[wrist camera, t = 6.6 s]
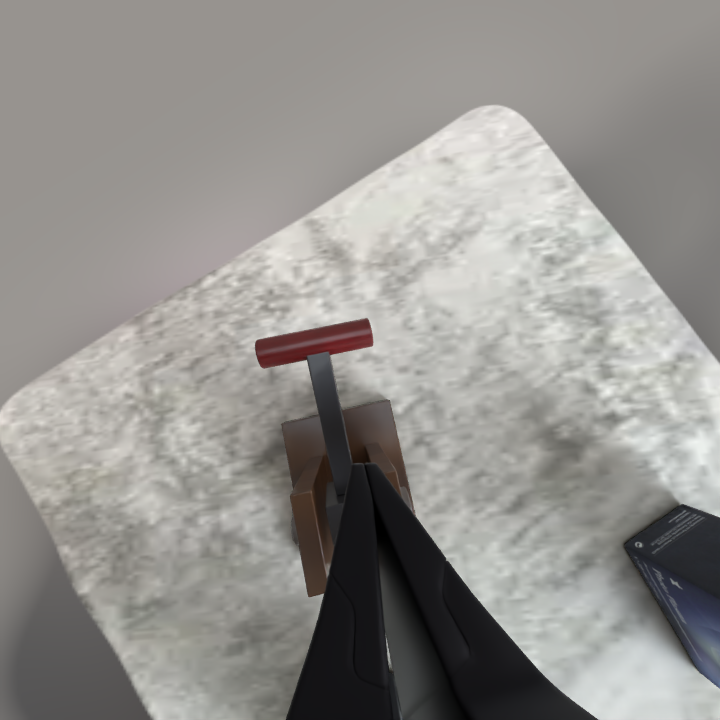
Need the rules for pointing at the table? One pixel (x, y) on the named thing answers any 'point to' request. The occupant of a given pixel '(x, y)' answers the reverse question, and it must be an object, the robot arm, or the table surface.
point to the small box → (685, 580)
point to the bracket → (312, 473)
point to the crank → (323, 392)
